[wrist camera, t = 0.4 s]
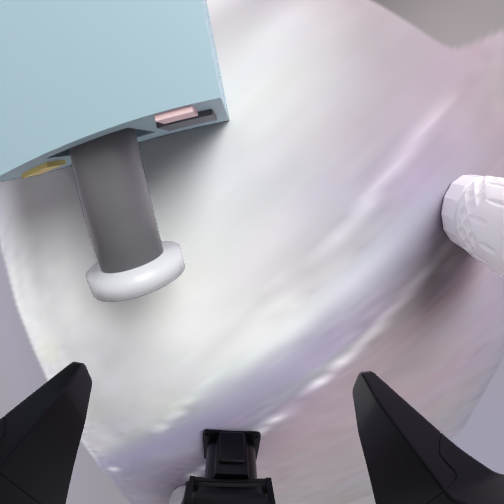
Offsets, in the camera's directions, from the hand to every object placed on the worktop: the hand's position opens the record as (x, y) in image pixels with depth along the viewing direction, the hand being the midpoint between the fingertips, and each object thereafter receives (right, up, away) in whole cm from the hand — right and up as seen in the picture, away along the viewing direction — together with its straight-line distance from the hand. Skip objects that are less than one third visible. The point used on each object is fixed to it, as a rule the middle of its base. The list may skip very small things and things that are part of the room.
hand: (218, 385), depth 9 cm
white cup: (+21, +8, +15) cm, 27 cm away
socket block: (-9, +18, +10) cm, 22 cm away
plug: (-7, +10, +9) cm, 15 cm away
